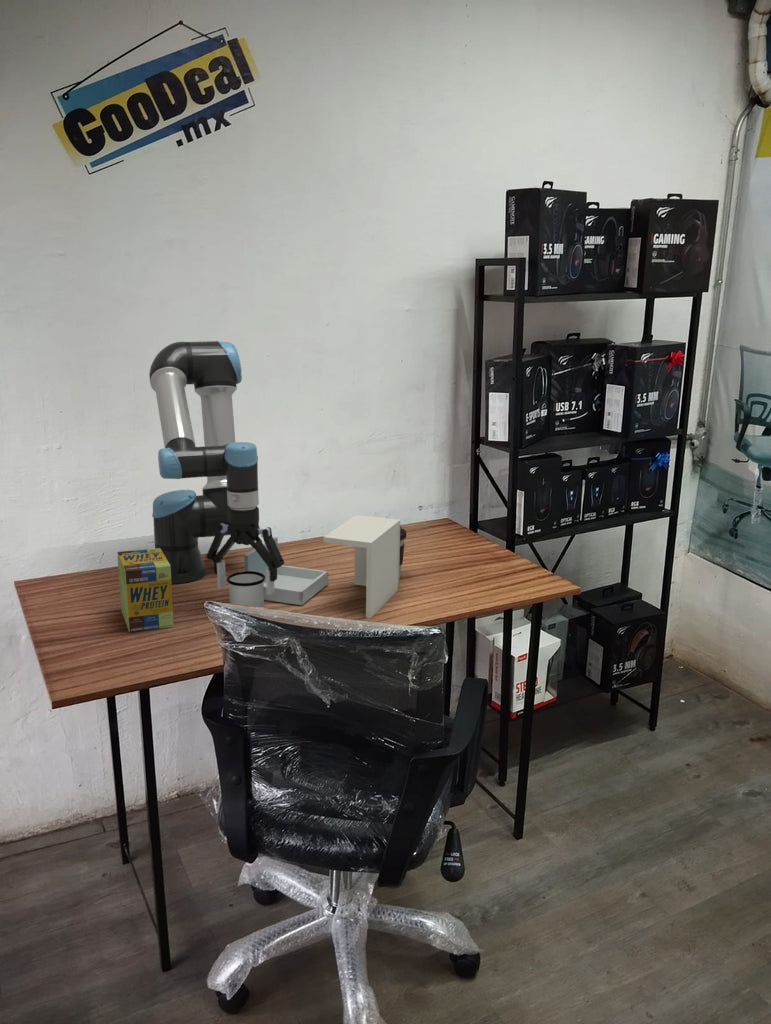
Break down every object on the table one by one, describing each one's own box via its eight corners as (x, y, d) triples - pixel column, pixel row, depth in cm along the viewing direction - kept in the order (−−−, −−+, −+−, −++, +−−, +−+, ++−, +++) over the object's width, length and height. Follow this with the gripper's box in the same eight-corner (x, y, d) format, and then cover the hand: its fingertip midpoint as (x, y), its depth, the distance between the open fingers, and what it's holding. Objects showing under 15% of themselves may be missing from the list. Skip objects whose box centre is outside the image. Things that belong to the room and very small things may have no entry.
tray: (245, 596, 220) (244, 555, 217) (275, 576, 235) (274, 537, 232) (301, 605, 214) (301, 562, 212) (328, 583, 230) (327, 543, 227)
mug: (269, 616, 208) (269, 581, 206) (231, 620, 205) (230, 585, 203) (260, 599, 219) (259, 566, 217) (223, 603, 216) (222, 569, 214)
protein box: (129, 633, 197) (124, 570, 193) (120, 610, 210) (116, 551, 206) (174, 627, 201) (171, 565, 197) (163, 605, 214) (160, 546, 210)
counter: (323, 611, 212) (323, 537, 207) (355, 583, 232) (356, 514, 227) (370, 618, 208) (371, 542, 203) (399, 589, 228) (400, 519, 223)
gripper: (189, 505, 206) (194, 588, 211) (282, 515, 198) (284, 600, 203) (206, 499, 212) (209, 579, 218) (296, 507, 204) (298, 591, 210)
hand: (245, 590), depth 210 cm, fingers open, 13 cm apart
